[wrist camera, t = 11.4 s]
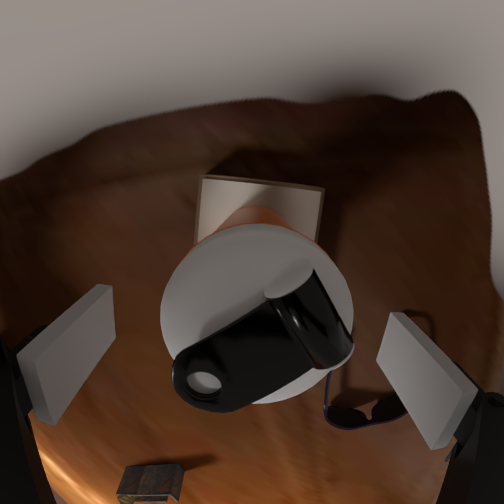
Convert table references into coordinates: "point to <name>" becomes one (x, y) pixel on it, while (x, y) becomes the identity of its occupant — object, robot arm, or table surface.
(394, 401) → the sunglasses
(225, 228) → the shaker bottle
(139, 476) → the dark angular channel piece
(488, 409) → the robot arm
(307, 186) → the block
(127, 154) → the table surface
